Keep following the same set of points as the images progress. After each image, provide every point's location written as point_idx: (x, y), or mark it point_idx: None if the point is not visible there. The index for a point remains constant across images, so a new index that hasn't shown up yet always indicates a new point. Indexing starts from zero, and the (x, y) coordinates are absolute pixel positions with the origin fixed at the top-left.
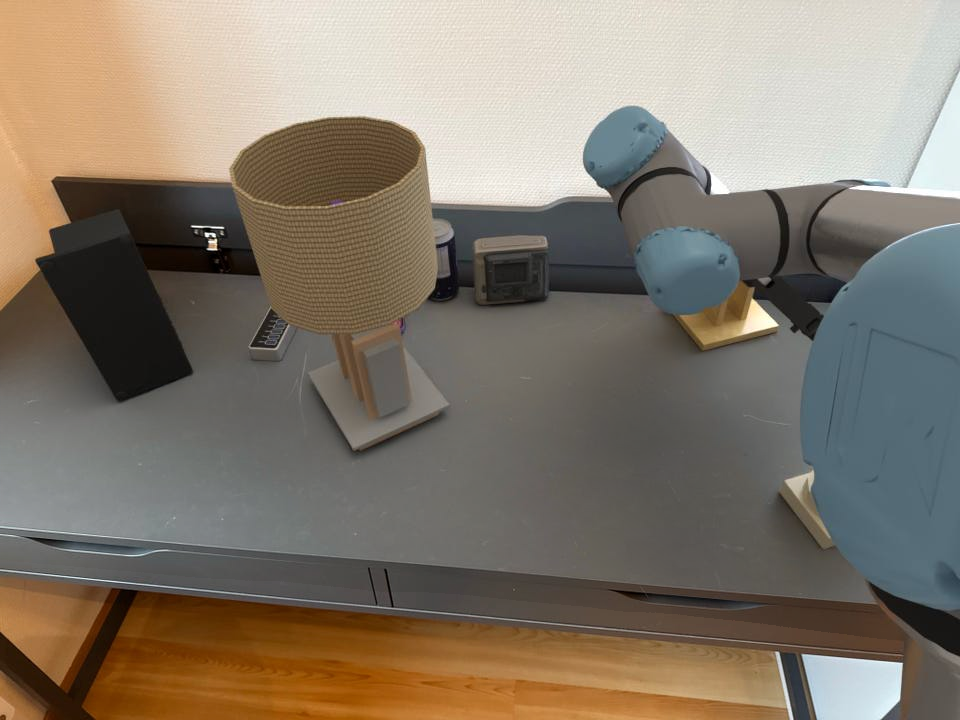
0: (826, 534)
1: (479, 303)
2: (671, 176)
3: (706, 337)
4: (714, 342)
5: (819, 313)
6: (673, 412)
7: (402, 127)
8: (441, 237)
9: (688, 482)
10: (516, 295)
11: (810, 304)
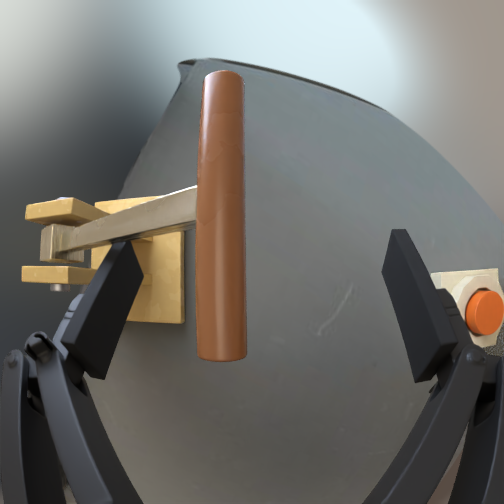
0: (493, 344)
1: (65, 486)
2: None
3: (168, 310)
4: (181, 305)
5: (445, 311)
6: (280, 414)
7: None
8: None
9: (380, 436)
10: (61, 469)
11: (445, 346)
